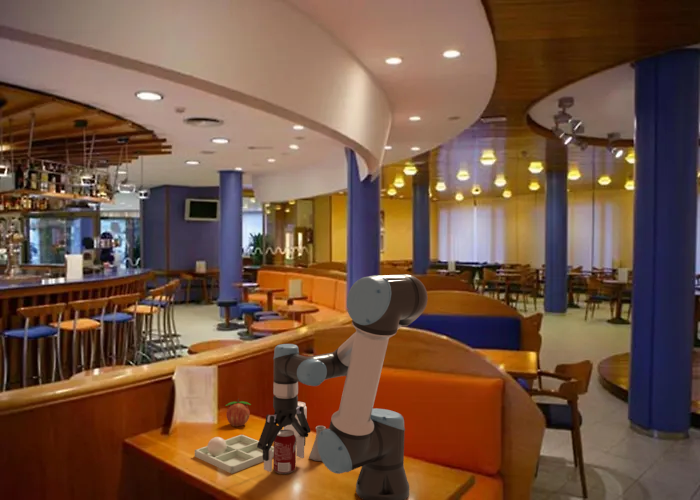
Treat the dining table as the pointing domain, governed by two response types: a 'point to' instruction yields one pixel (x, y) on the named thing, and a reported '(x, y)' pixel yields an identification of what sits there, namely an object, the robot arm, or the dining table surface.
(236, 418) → the fruit
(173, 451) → the dining table surface
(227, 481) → the dining table surface
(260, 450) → the caddy
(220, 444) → the ceramic egg
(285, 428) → the beverage can
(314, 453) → the flask
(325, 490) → the dining table surface
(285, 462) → the soda can
